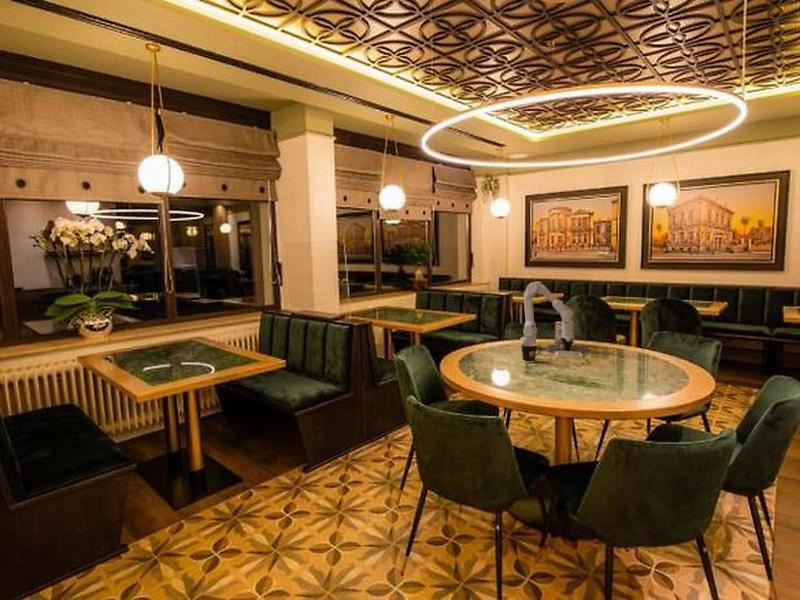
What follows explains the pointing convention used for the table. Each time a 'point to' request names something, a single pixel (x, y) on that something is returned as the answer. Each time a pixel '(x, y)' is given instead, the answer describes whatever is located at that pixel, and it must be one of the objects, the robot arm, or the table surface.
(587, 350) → the fuse board
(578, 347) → the outer fuse
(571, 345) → the marked fuse
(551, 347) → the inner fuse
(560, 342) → the candy bar box
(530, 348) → the coffee mug
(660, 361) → the table surface
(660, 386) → the table surface
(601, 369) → the table surface
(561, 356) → the parts tray
